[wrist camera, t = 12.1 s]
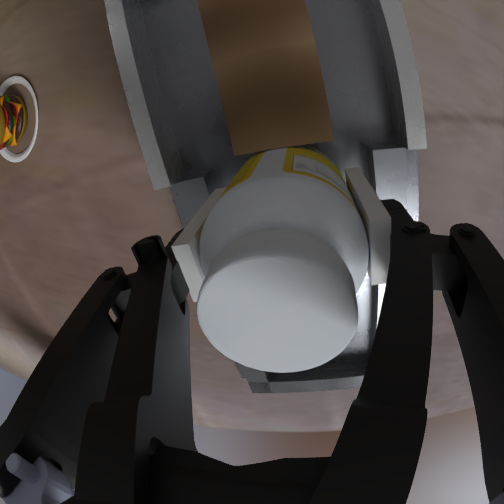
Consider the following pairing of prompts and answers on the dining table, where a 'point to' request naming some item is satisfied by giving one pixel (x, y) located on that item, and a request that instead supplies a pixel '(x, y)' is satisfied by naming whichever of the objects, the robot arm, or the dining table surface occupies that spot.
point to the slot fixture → (227, 165)
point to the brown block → (253, 26)
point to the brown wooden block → (274, 99)
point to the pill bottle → (282, 262)
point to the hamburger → (15, 119)
